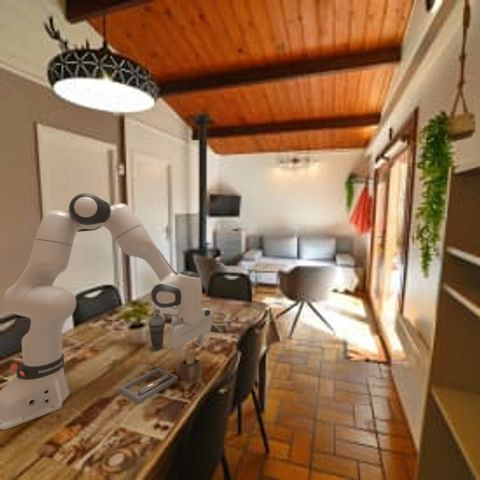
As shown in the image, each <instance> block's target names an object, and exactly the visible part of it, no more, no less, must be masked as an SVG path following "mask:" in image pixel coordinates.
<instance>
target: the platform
mask: <svg viewBox="0 0 480 480" xmlns="http://www.w3.org/2000/svg"><path fill="white" fill-rule="evenodd" d="M228 323H229V322H228V321H225V319H221V318H219V319H217V318H216V319H212V320H211V329H210V331H216V332H218V331H219V332H220V333H222V332H226V331H227V330H226V325H228Z"/></svg>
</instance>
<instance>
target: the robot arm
mask: <svg viewBox="0 0 480 480" xmlns="http://www.w3.org/2000/svg"><path fill="white" fill-rule="evenodd" d="M101 227H103V228H105V229H107V230H108V231H109V233H110V234H111V236H112V237H113V239H114V241H115V242H116V244H117V245H118V247H119V248H120V249H121V250H122V252H123V253H124V254H125V255H127V256H129V257H130V256H131V257H135V258H139V259H140V260H143V261H145V262H146V263H147V264H148V265H149V266H150V268H151V269H152V270H153V273H155V274H156V277H158V279H159V282H157V283H156V284H155V285H154V286H153V287H152V289H151V292H150V297H151V302H152V301H153V302H154V303H155V305H157V306H158V307H161V308H168V307H174V306H178V320H177V321H174V322H172V321H171V324H170V325H169V327H168V331H167V341H166V343H167V346H168V347H170V348H172V349H177V351H178V356H180V357H182V356H183V357H184V356H185V354H186V349H185V350H184V349H183V348H184V346H183V345H185V344H187V343H189V342H191V341H194V340H195V339H196V338H197V340H196V341H195V343H196V347H201V346H202V345H203V340H204V337H205V334H206V333H208V332H210V331H211V330H210V329H211V321H212V316H211V315H212V309H211V308H207V307H203V304H202V297H203V287H202V286H203V285H202V280H201V276H200V275H199V274H198V273H197V272H195V271H190V270H183V271H180V272H179V273H177V272H176V271H175V270H174V269H173V268H172V266H171V265H170V264H169V262H168V260H167V259H166V257H165V256H164V255H163V254H162V251H160V248H158V247H157V245H156V244H155V242H154V241H153V239H152V238H151V236H150V235H149V233H148V231H147V229H146V227H145V226H144V225H143V223H142V222H141V220H140V219H139V217H138V215H137V214H136V213H135V212H134V210H132V208H131V207H130V206H129V205H127V204H126V203H115V204H113V205H110V203H109V202H107V201H105V200H103V199H101V198H100V197H99V196H97V195H95V194H92V193H90V192H89V193H88V192H87V193H86V192H85V193H79V194H77V195H75V196H74V197H73V198H72V199H71V200H70V203H69V205H68V210H58V209H55V210H54V209H53V210H50V211H48V212H46V213H45V214H44V216H43V218H42V219H41V222H40V223H39V226H38V229H37V231H36V234H35V237H34V242H33V246H32V249H31V252H30V253H31V254H30V255H29V256H30V257H29V259H28V262H27V264H26V267H25V269H24V271H23V272H22V274H21V276H20V277H19V278H18V280H17V281H16V282H15V283H14V284H13V285H11V286H10V287H8V289H7V290H6V291H5V292H4V295H3V305H4V307H5V308H6V309H7V310H9V311H10V312H12V313H13V314H15V315H17V316H20V317H25V318H28V319H29V320H30V326H29V331H28V332H27V333H26V334H24V335H23V337H22V338H21V354H22V361H21V363H20V365H19V364H17V363H13V364H11V365H10V368H9V369H10V371H12V372H13V373H15V374H16V375H15V377H13V379H11V380H10V381H9V382H8V383H7V384H6V385H5V386H4V387H2V389H0V430H9V429H11V428H14V427H16V426H18V425H22V424H24V423H26V422H29V421H31V420H34V419H37V418H39V417H43V416H45V415H47V414H50V413H53V412H55V411H58V410H60V409H61V408H62V407H63V404H64V402H65V400H66V399H67V397H68V396H69V395H70V388H69V386H68V383H67V380H66V375H65V370H64V369H65V356H64V355H65V354H64V352H63V342H62V341H63V339H62V337H63V329H64V325H65V323H66V321H67V320H68V319H69V318H70V317H72V315H73V314H74V312H75V310H76V307H77V298H76V296H75V295H74V293H73V292H71V291H69V290H67V289H65V288H63V287H60V286H56V285H55V286H54V285H53V284H54V283H55V281H56V279H57V277H58V276H59V275H60V274H62V273H63V272H65V271H66V269H67V268H68V266H69V262H70V258H71V254H72V253H71V252H72V249H73V245H74V240H75V236H76V234H77V233H78V232H79V233H80V232H92V231H96V230H98V229H101Z"/></svg>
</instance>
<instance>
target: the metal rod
mask: <svg viewBox="0 0 480 480" xmlns="http://www.w3.org/2000/svg"><path fill="white" fill-rule="evenodd" d="M168 380H170V378H169V376H168V375H167V374H166V375H162V376H160V377H158V378H157V379H155V380H153V381H151V382H149V383H148V384H146V385H144V386H142V387H140V388H138V389H137V395H138V396H139V397H140V396H142V395H144V394H145V393H147V392H149V391H151V390H152V389H154V388H156V387H158V386H159V385H161V384H163V383H165V382H166V381H168Z"/></svg>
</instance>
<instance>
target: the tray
mask: <svg viewBox="0 0 480 480" xmlns="http://www.w3.org/2000/svg"><path fill="white" fill-rule="evenodd" d="M156 374H159V375H162V376H164V375H166V374H167V375H168V376H169V378H170V380H168V381H166V382H165V383H163V384H161V385H159V386H158V387H156V388H154V389H152V390H151V391H149V392H147V393H145V394H144V395H142V396H139V395H138V394H135V393H134V392H132V391H131V390H129V389H130V388H132V387H134V386H135V385H138V384H140V383H141V382H143V381H145V380H147V379H149V378H151V377H153V376H154V375H156ZM178 380H179V376H178V375H175V374H173V373H171V372H169V371H166V370H164V369H163V368H160V367H156V368H154V369H153V370H150V371H148V372H147V373H145V374H143V375H141V376H139V377H137V378H135V379H133V380H131V381H129V382H128V383H125V384H124V385H122V386H120V387H119V388H118V390H119V391H118V392H119V393H120V394H122V395H124V396H125V397H126V398H128V399H130V400H132V401H133V402H135V403H137V404H138V405H139V404H142V403H144V401H145V400H147V399H149V398H150V397H152V396H154V395H156V394H157V393H159V392H160V391H162V390H164V389H166V388H167V387H169V386H171V385H172V384H174V383H176V382H177V381H178Z"/></svg>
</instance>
